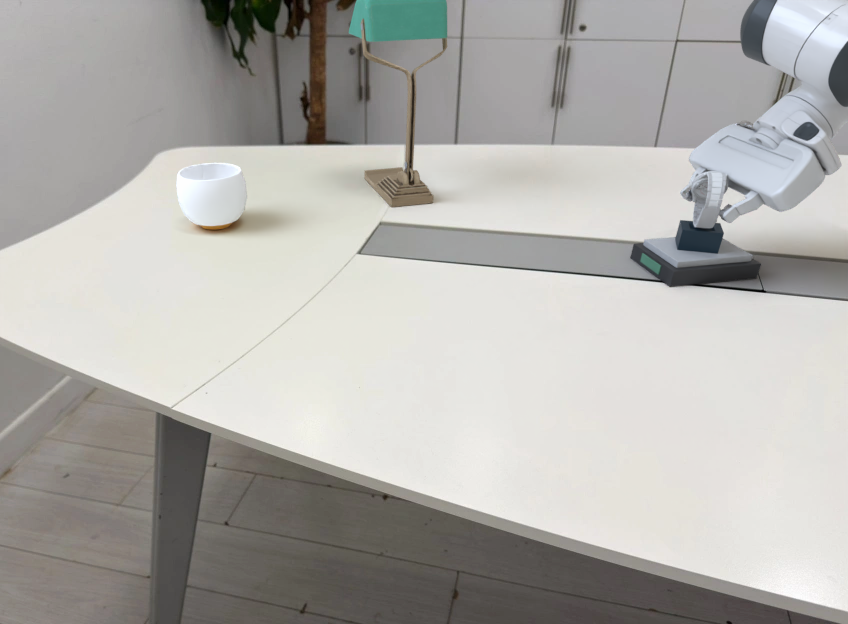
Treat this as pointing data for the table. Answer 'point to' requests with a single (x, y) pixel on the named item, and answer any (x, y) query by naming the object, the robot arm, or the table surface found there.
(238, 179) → the cup
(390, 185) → the banker's lamp
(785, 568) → the table surface
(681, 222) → the watch
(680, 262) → the scale
